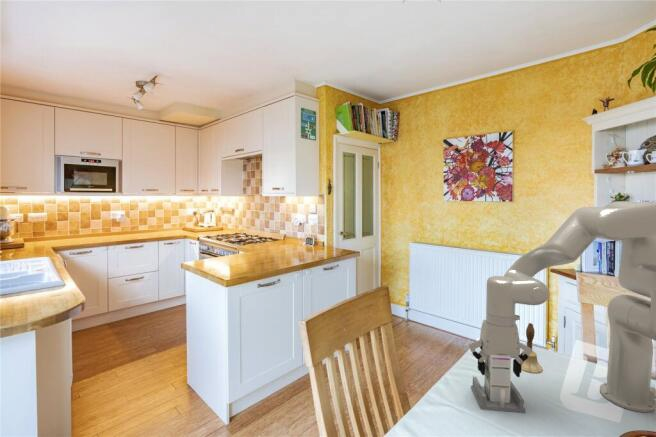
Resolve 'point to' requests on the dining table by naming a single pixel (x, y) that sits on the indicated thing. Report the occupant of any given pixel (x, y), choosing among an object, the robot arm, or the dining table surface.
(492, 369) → the syrup box
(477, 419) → the dining table surface
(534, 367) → the hand bell
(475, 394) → the grey peg stand
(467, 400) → the dining table surface
